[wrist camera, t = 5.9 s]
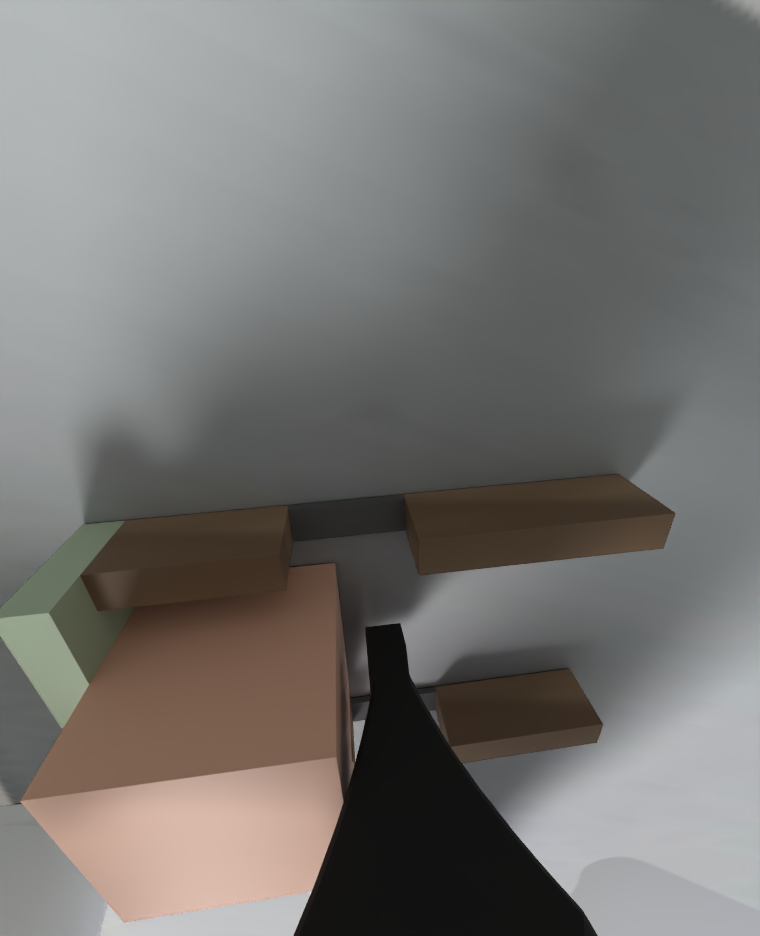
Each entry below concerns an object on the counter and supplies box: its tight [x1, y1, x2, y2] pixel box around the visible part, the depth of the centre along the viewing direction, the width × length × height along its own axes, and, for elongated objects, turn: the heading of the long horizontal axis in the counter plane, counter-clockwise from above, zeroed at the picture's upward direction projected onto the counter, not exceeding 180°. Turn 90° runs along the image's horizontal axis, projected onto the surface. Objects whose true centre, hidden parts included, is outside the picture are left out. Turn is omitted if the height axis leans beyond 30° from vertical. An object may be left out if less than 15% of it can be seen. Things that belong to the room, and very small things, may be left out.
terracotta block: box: [20, 563, 352, 922], centre depth 10 cm, size 5×5×5 cm
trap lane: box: [0, 474, 675, 772], centre depth 11 cm, size 9×14×3 cm, turn 92°
